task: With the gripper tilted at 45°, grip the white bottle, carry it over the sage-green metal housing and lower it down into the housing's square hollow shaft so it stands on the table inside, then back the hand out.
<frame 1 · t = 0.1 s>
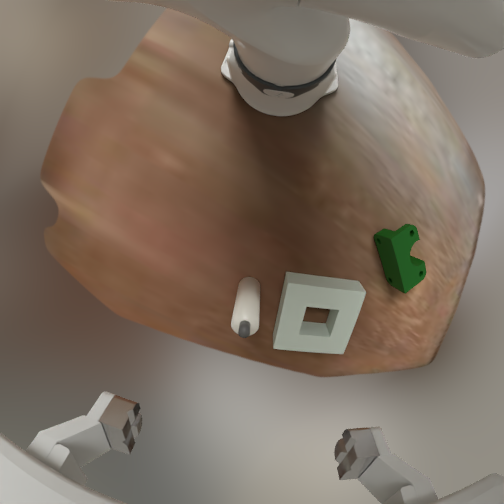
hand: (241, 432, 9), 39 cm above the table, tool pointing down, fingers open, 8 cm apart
white bottle: (249, 286, 50), on the table
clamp: (395, 250, 47), on the table
housing: (315, 309, 51), on the table
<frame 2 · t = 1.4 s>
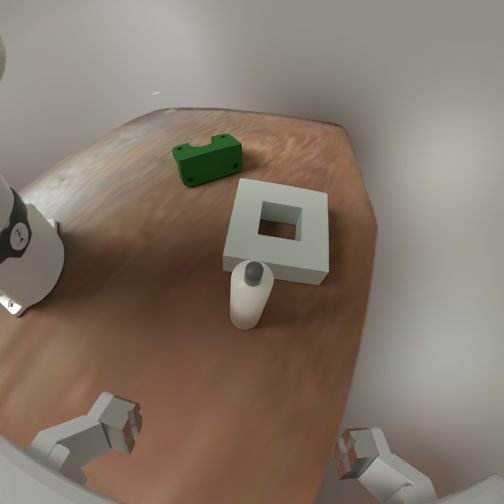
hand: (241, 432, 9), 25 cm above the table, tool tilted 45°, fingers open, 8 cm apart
white bottle: (244, 315, 36), on the table
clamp: (207, 169, 49), on the table
housing: (276, 237, 43), on the table
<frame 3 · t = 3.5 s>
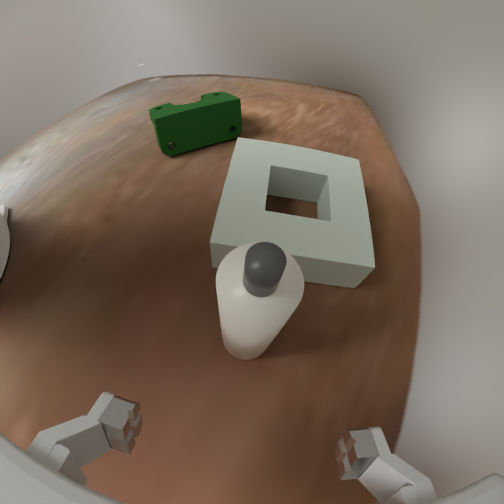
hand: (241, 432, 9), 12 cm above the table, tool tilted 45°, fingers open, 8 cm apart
white bottle: (245, 337, 23), on the table
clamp: (195, 136, 36), on the table
housing: (290, 219, 29), on the table
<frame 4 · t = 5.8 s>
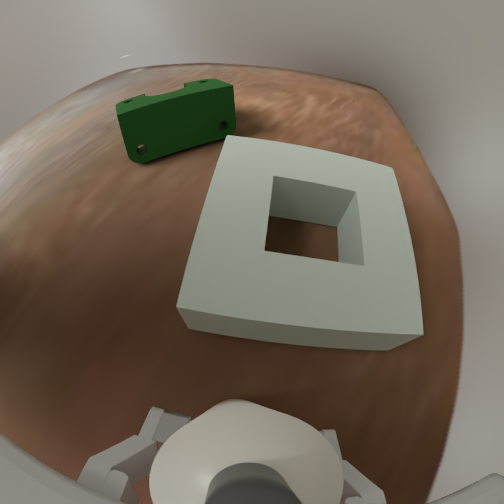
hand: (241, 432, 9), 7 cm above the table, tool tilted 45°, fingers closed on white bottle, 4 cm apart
white bottle: (236, 428, 14), on the table, touching gripper
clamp: (176, 136, 27), on the table
housing: (301, 252, 21), on the table
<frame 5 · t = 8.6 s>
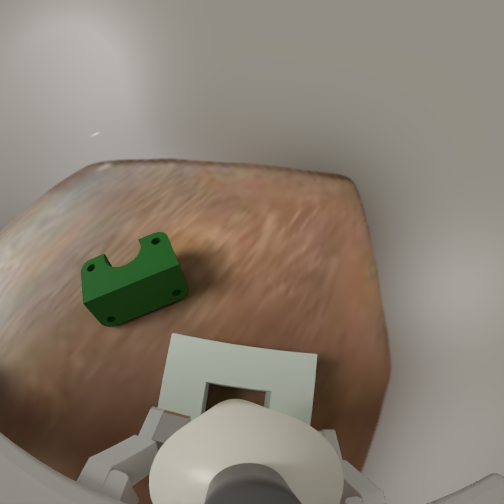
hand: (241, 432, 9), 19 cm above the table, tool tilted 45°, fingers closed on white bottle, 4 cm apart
white bottle: (236, 428, 14), point 13 cm above the table, touching gripper
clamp: (139, 288, 32), on the table
housing: (233, 414, 25), on the table
when the fingers open (8 cm above the table, at t = 11.5 s): white bottle drops 1 cm, resting in housing.
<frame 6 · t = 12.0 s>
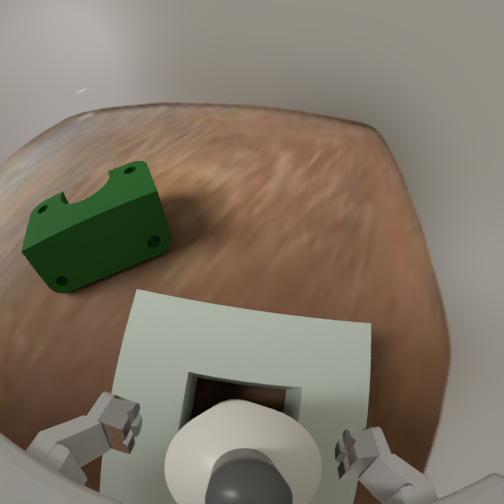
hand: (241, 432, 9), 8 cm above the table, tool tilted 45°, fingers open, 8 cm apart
white bottle: (235, 426, 15), resting in housing
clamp: (107, 243, 22), on the table
housing: (236, 426, 15), on the table
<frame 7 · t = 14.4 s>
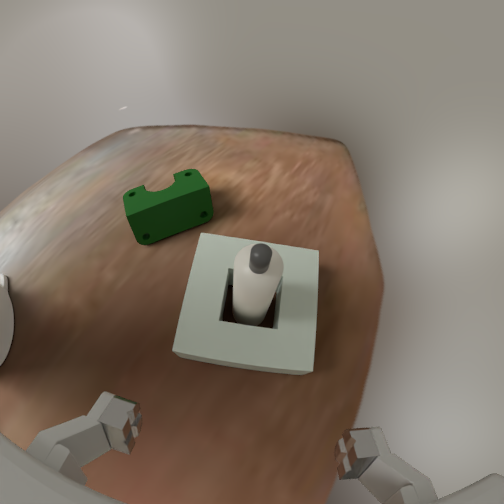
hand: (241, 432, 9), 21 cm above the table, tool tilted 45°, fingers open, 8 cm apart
white bottle: (249, 311, 33), resting in housing
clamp: (170, 217, 39), on the table
housing: (249, 311, 33), on the table
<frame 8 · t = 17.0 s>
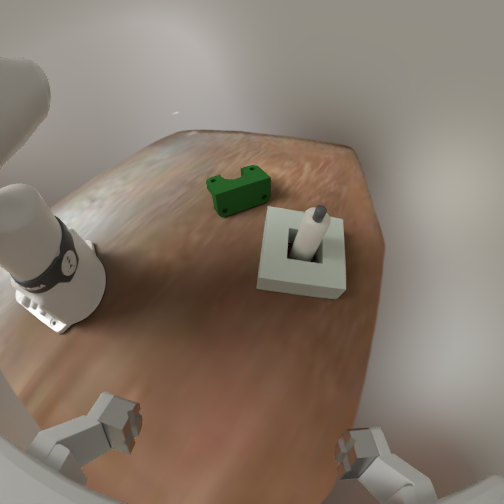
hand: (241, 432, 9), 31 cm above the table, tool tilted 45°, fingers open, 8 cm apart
white bottle: (299, 258, 49), resting in housing
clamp: (237, 199, 55), on the table
housing: (299, 258, 49), on the table
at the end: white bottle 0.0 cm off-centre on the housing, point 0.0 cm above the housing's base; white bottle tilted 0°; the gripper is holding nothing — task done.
